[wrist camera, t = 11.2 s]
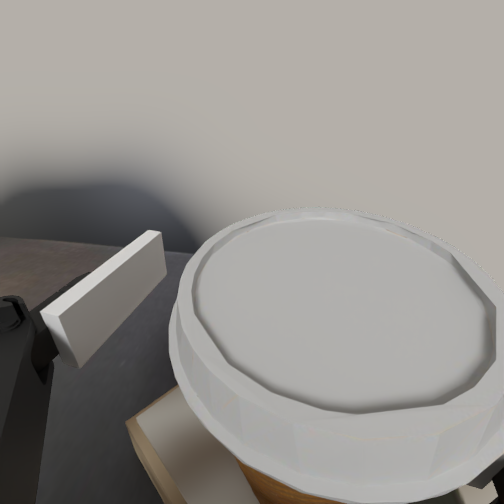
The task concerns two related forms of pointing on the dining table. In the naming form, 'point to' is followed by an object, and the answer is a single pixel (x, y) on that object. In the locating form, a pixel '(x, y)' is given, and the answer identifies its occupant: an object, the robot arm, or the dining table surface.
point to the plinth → (186, 455)
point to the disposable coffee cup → (342, 357)
